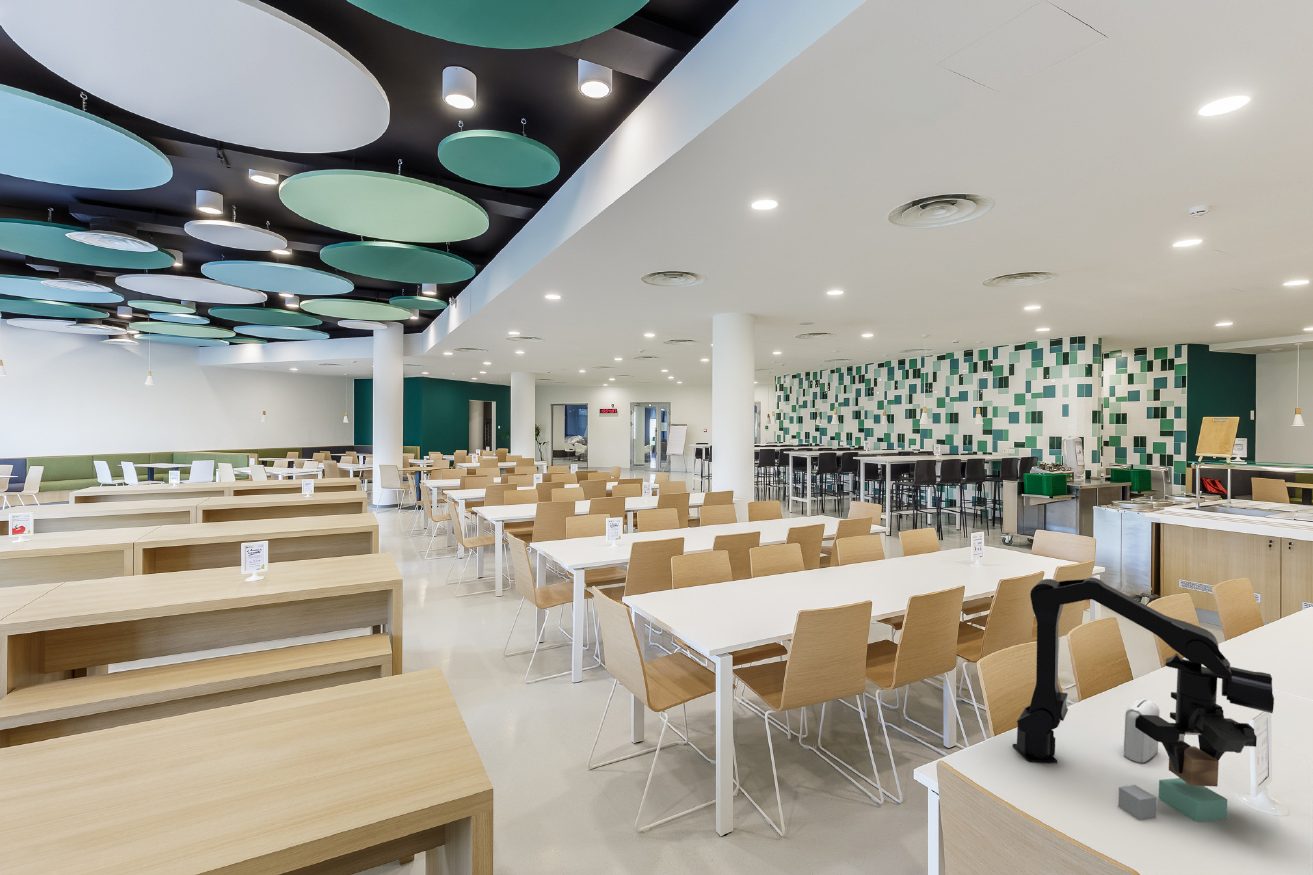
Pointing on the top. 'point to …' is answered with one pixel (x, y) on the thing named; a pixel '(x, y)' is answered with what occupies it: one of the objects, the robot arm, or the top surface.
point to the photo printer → (1139, 732)
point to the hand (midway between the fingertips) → (1192, 772)
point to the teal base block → (1193, 800)
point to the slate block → (1137, 802)
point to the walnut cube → (1198, 768)
